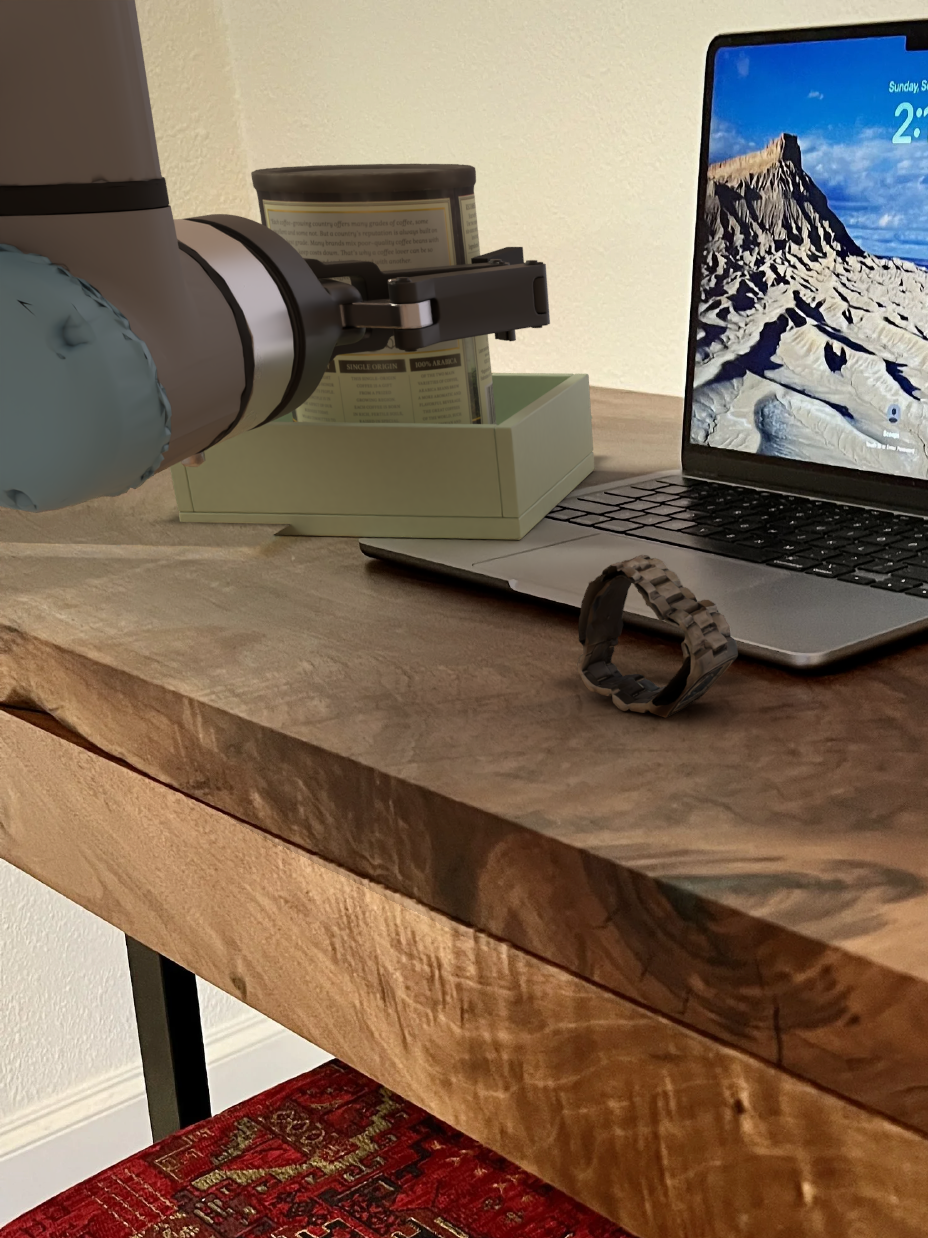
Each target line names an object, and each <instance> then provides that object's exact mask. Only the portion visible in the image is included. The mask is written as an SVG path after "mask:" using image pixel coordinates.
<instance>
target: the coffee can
mask: <svg viewBox="0 0 928 1238" xmlns="http://www.w3.org/2000/svg"><path fill="white" fill-rule="evenodd" d="M250 176H251V181H252V186H253V189H255V191H256V196H257V203H258V208H259V214H260V222H261V224H262V225H264V226H266V227H268V228H270V229H271V230H273V231H274V232H276V233H277V234H279V235H280V236H281V237H283V238H284V239H285V240H286V241H287V242H288V243H290V244H291V245H292V246H293V247H294V248H295V249H296V251H297V252H298V253H299V254H300V255H301V256H302V258H310V259H317V260H319V261H320V262H332V261H345V260H359V261H369V262H373V263H375V264H376V265H377V266H378V267H379V269H380V270H381V271H388V270H400V269H413V268H426V267H438V266H451V265H463V264H472V263H471V258H474V257H477V256H480V255H481V249H480V237H479V228H478V227H479V225H478V216H477V207H476V195H475V186H476V183H477V171H476V167H475V166H474V165H470V164H459V163H372V164H371V163H366V164H365V163H364V164H359V163H358V164H321V165H320V164H318V165H316V164H315V165H300V166H281V167H267V168H260V169H255V170H253V171H251V172H250ZM329 279H333V280H336V281H340V282H343V283H347V284H350V285H351V281H350V278H349V277H336V278H329ZM492 373H493V372H492V363H491V354H490V343H489V334H487V335H481V336H475V337H469V338H463V339H457V340H451V341H445V342H440V343H436V344H433V345H430V346H427V347H424V348H419V349H417V351H415V352H405V350H399V349H398V348H395V340H394V336H392V337H390V338H389V341H388V343H387V346H386V347H385V348H384V349H382V350H376V351H368V352H359V353H350V354H341V355H337V356H336V357H335V358H334V359H333V360H332V361H330V362H329V363H328V366H327V368H326V371H325V373H324V375H323V378H322V379H321V381H320V383H319V385H318V387H317V388H316V390H315V391H314V392H313V394H312V395H311V396H310V397H309V398H308V399H307V400H306V401H305V402H304V403H303V404H302V405H301V406H300V407H298V408H297V409H295V410H294V411H292V417H293V422H338V423H421V424H496V414H495V404H494V393H493V383H492Z"/></svg>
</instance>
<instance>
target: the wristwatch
mask: <svg viewBox="0 0 928 1238" xmlns="http://www.w3.org/2000/svg"><path fill="white" fill-rule="evenodd" d="M632 584H633V586H634V587H635V589H636V590H637V591H638V593H639V594H640V595H641V597H642V599H643V600H644V602H645V606H647V607H649V608H650V610H652V611H653V612H654V614H655V616H656V618H657V619H658V620H659V622H666V623H667V624H668V625H671V626H673V627H675V628H678V629H682V630H683V637H684V640H683V641H682V642H681V644H680V646H681V651H682V654H683V655H682V656H683V658H682V665H681V667H680V668H679V669H678V671H677V672H676V674H674V676H673V677H672V678H671V679H670V680H669V681H668V683H667V684H666V685H664V686H661V687H660V686H658V685H656V683H654V682H652V681H651V680H650V679H647V678H646V676H644V674H640V673H632V674H631V673H630V674H624V675H623V674H622V673H621V671H620V669H618V666H617V665H616V664H614V663H613V662H612V659H613V655H614V653H615V646H618V644H619V637H621V635H622V631H623V628H624V621H623V614H624V609H625V604H626V600H627V597H628V593H629V590H630V588H631V586H632ZM577 631H578V632H577V634H578V636H577V639H578V640H577V641H578V643H580V644H581V646H582V653H581V654H580V655H579V656H578V659H577V663H576V664H575V666H576V672H577V674H578V675H579V676H580V677H581V680H582V682H583V685H584V686H585V687H586V688H587V689H588V691H589V692H592V693H596V694H599V695H601V696H605V697H611V696H612V699H611V700H612V703H613V704H614V705H615V706H616V707H617V708H618V710H620V711H623V712H626V711H628V710H630V711H631V712H637V713H641V714H643V713H644V714H645V713H647V712H650V713H651V714H653V715H656V716H658V717H663V718H668V717H670V716H673V715H674V714H676V713H678V712H680V711H683V710H684V709H686V708H687V707H689V706H690V705H691V704H692V703H694V702H696V701H698V700H700V699H701V698H702V697H703V696H704V695H705V694H706V693H707V692H708V691H709V690H710V689H711V688H712V687H713V686H714V685H715V684H716V683H717V681H718V680H719V679H721V677H723V675H724V674H725V673H726V671H727V670H729V668H730V667H731V665H732V664H733V663H734V662H735V661H736V659H737V658H738V656H739V652H738V644H737V640H736V639H735V638H734V637H733V636H732V633H731V632H732V631H731V624H729V622H728V620H727V619H726V617H725V614H723V613H721V612H719V608H718V605H717V603H715V602H713V601H712V600H709V599H702V600H698V599H697V597H696V595H695V594H694V592H692V590H690V589H689V588H688V587H687V586H686V587H685V586H683V584H682V582H681V579H680V578H679V576H678V575H677V573H676V572H674V571H673V570H671V569H669V568H668V566H667V564H665V562H664V561H662V560H661V559H659V558H657V557H651V556H650V555H648V554H640V555H636V556H635V557H632V558H630V559H626V560H623V561H617V562H614V563H611V564H610V565H609V566H607V567H605V568H604V569H603V570H602V572H601V574H600V575H598V576H597V577H595V578H594V580H591V581H589V582H588V585H587V587H586V589H585V592H584V594H583V597H582V600H581V604H580V613H579V616H578V624H577Z"/></svg>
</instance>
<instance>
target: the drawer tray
mask: <svg viewBox="0 0 928 1238" xmlns="http://www.w3.org/2000/svg"><path fill="white" fill-rule="evenodd" d="M492 383H493V393H494V404H495V414H496V424H421V423H338V422H293V417H292V412H290V413H289V414H286V415H284V416H282V417H280V418H278V419H276V420H273V421H271V422H269V423H267V424H265V425H262V426H260V427H258V428H255V429H252V430H249V431H246V432H243V433H241V434H239V435H237V436H235V437H233V438H230V439H228V440H226V441H223V442H221V443H219V444H217V445H215V446H213V447H211V448H209V449H207V450H206V451H204V453H205V460H206V461H205V462H204V463H203V464H201V465H200V466H198V467H185V466H183V465H182V464H181V463H180V462H178V463H176V464H174V465H173V466H171V467H169V471H170V476H171V482H172V487H173V493H174V498H175V502H176V507H177V512H178V517H179V522H180V523H211V524H212V523H214V524H215V523H216V524H217V523H218V524H219V523H221V524H263V525H264V524H265V525H267V524H269V525H273V524H274V525H286V526H285V527H284V528H282V529H281V530H278V531H277V532H276V533H273V536H306V537H307V536H308V537H309V536H311V537H312V536H313V537H314V536H315V537H359V538H361V537H365V538H366V537H367V538H410V539H411V538H414V539H415V538H416V539H459V540H460V539H462V540H463V539H464V540H465V539H470V540H512V541H513V540H514V541H515V540H516V541H517V540H522V539H523V538H524V537H525V536H526V535H527V534H528V533H529V532H530V531H531V530H533V528H534V527H536V526H537V525H538V524H539V523H540V521H542V520H543V519H544V518H545V517H546V516H548V514H549V513H550V512H551V511H552V510H553V509H554V508H556V507H557V505H559V504H560V503H561V502H562V501H563V500H564V499H565V498H566V497H567V496H569V494H570V493H571V492H572V491H573V490H575V489H576V488H577V487H578V486H579V485H580V484H581V482H583V481H584V480H585V479H586V478H587V477H588V476H589V475H590V474H591V473H592V472H594V470H595V468H596V467H595V453H594V439H593V438H594V437H593V436H594V435H593V423H592V406H591V405H592V404H591V389H590V376H589V373H567V372H565V373H560V372H559V373H558V372H557V373H554V372H553V373H551V372H547V373H546V372H492Z"/></svg>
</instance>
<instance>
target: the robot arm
mask: <svg viewBox="0 0 928 1238" xmlns="http://www.w3.org/2000/svg"><path fill="white" fill-rule="evenodd" d="M147 77H148V76H147V72H146V63H145V58H144V52H143V44H142V37H141V31H140V23H139V18H138V11H137V5H136V0H0V508H1V507H2V508H4V509H5V508H6V509H10V510H16V511H21V512H29V513H34V514H40V513H45V512H53V511H57V510H63V509H66V508H69V507H73V506H77V505H80V504H83V503H87V502H89V501H92V500H95V499H98V498H102V497H106V498H107V497H108V498H114V497H119V496H121V495H125V494H127V493H128V492H129V490H130V489H133V490H136V489H138V488H139V487H141V486H143V484H144V483H145V482H146V481H147V480H149V479H151V478H152V477H154V476H155V475H157V474H159V473H160V472H163V471H165V470H167V469H168V468H169V469H170V467H171V466H173V465H174V464H176V463H178V462H180V463H181V464H182V465H183V466H185V467H198V466H200V465H201V464H203V463H204V462H205V461H206V460H205V453H204V451H206V450H207V449H209V448H211V447H213V446H215V445H217V444H219V443H221V442H223V441H226V440H228V439H230V438H233V437H235V436H237V435H239V434H241V433H243V432H246V431H249V430H252V429H255V428H258V427H260V426H262V425H265V424H267V423H269V422H271V421H273V420H276V419H278V418H280V417H282V416H284V415H286V414H289V413H290V412H292V411H294V410H295V409H297V408H298V407H300V406H301V405H302V404H303V403H304V402H305V401H306V400H307V399H308V398H309V397H310V396H311V395H312V394H313V392H314V391H315V390H316V388H317V387H318V385H319V383H320V381H321V379H322V378H323V375H324V373H325V371H326V368H327V366H328V363H329V362H330V361H332V360H333V359H334V358H335V357H336V356H337V355H341V354H350V353H359V352H368V351H376V350H382V349H384V348H385V347H386V346H387V343H388V341H389V338H390V337H392V336H394V340H395V348H398V349H399V350H405V352H415V351H417V349H419V348H424V347H427V346H430V345H433V344H436V343H440V342H445V341H451V340H457V339H463V338H469V337H475V336H481V335H487V334H488V335H493V334H494V339H495V340H499V341H506V342H507V341H508V342H514V341H515V342H516V341H517V338H516V337H517V336H516V330H517V331H518V330H523V329H528V328H531V329H542V328H543V327H544V326H545V327H546V326H549V325H550V324H551V317H550V304H549V290H548V289H549V288H548V275H547V264H546V263H544V262H543V261H538V260H537V259H526V260H525V258H524V247H523V246H506V247H502V248H500V249H496V250H492V251H489V252H487V253H483V254H480V256H477V257H474V258H471V263H472V264H463V265H451V266H438V267H426V268H413V269H400V270H388V271H381V270H380V269H379V267H378V266H377V265H376V264H375V263H373V262H369V261H359V260H345V261H332V262H320V261H319V260H317V259H310V258H302V256H301V255H300V254H299V253H298V252H297V251H296V249H295V248H294V247H293V246H292V245H291V244H290V243H288V242H287V241H286V240H285V239H284V238H283V237H281V236H280V235H279V234H277V233H276V232H274V231H273V230H271V229H270V228H268V227H266V226H264V225H262V223H260V222H257V221H255V220H253V219H251V218H248V217H244V216H240V215H235V214H228V213H214V214H205V215H198V216H192V217H185V218H174V215H173V211H172V206H171V205H170V198H169V191H168V187H167V180H166V177H164V176H163V175H162V169H161V164H160V163H161V162H160V157H159V151H158V145H157V137H156V131H155V125H154V119H153V118H154V117H153V111H152V104H151V97H150V92H149V85H148V78H147ZM336 277H349V278H350V281H351V285H350V284H347V283H343V282H340V281H336V280H333V279H329V278H336Z"/></svg>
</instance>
